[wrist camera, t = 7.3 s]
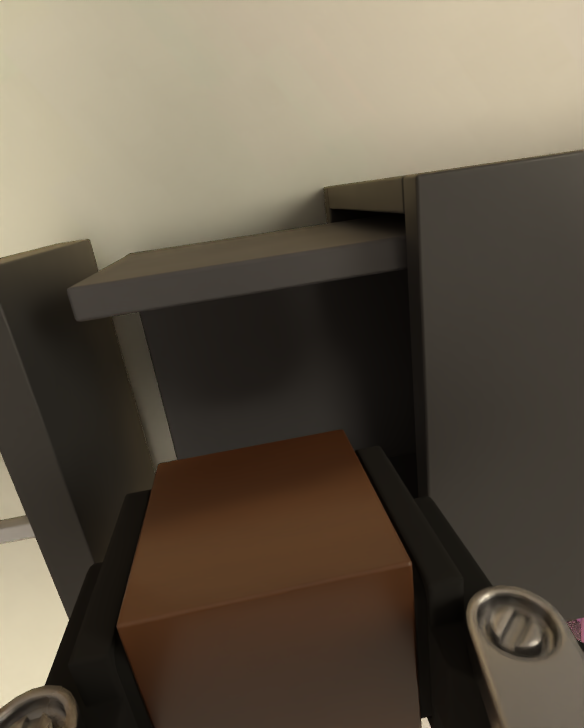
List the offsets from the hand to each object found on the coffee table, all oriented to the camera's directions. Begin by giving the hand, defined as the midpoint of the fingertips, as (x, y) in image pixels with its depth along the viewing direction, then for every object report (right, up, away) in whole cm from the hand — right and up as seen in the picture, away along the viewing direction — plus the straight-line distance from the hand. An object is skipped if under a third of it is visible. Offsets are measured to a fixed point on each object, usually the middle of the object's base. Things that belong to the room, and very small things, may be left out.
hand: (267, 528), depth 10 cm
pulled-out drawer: (-2, +3, +9) cm, 10 cm away
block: (0, 0, 0) cm, 0 cm away
